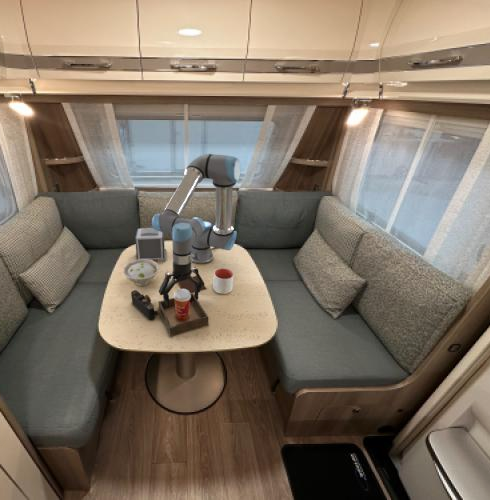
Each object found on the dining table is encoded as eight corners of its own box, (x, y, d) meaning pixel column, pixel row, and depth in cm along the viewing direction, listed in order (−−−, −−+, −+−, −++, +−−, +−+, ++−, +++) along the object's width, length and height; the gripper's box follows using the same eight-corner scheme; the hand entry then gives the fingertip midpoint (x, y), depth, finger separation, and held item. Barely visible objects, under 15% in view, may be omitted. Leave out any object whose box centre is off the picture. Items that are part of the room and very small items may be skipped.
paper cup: (170, 316, 123) (169, 293, 116) (182, 308, 127) (182, 285, 120) (182, 326, 118) (181, 301, 111) (194, 317, 123) (194, 293, 116)
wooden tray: (192, 300, 133) (192, 292, 130) (207, 325, 118) (208, 317, 116) (158, 309, 127) (158, 301, 124) (170, 336, 113) (169, 328, 110)
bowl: (167, 279, 148) (166, 264, 143) (143, 298, 134) (142, 282, 129) (141, 268, 157) (139, 253, 152) (116, 284, 143) (114, 269, 138)
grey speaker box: (165, 250, 175) (164, 225, 166) (165, 261, 164) (164, 234, 155) (137, 251, 174) (135, 225, 165) (135, 262, 163) (132, 235, 154)
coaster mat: (197, 276, 151) (197, 275, 150) (206, 288, 141) (206, 288, 141) (177, 281, 147) (177, 280, 146) (184, 294, 137) (184, 293, 137)
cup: (218, 281, 147) (219, 266, 142) (234, 287, 142) (236, 271, 137) (209, 291, 139) (210, 275, 134) (227, 297, 135) (228, 281, 130)
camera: (161, 315, 124) (160, 301, 120) (149, 322, 120) (148, 308, 116) (141, 297, 134) (140, 284, 130) (130, 303, 130) (128, 290, 126)
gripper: (206, 251, 114) (204, 290, 125) (149, 262, 106) (152, 303, 117) (213, 259, 108) (211, 300, 119) (154, 271, 100) (157, 314, 111)
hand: (182, 301), depth 118 cm, fingers open, 13 cm apart
